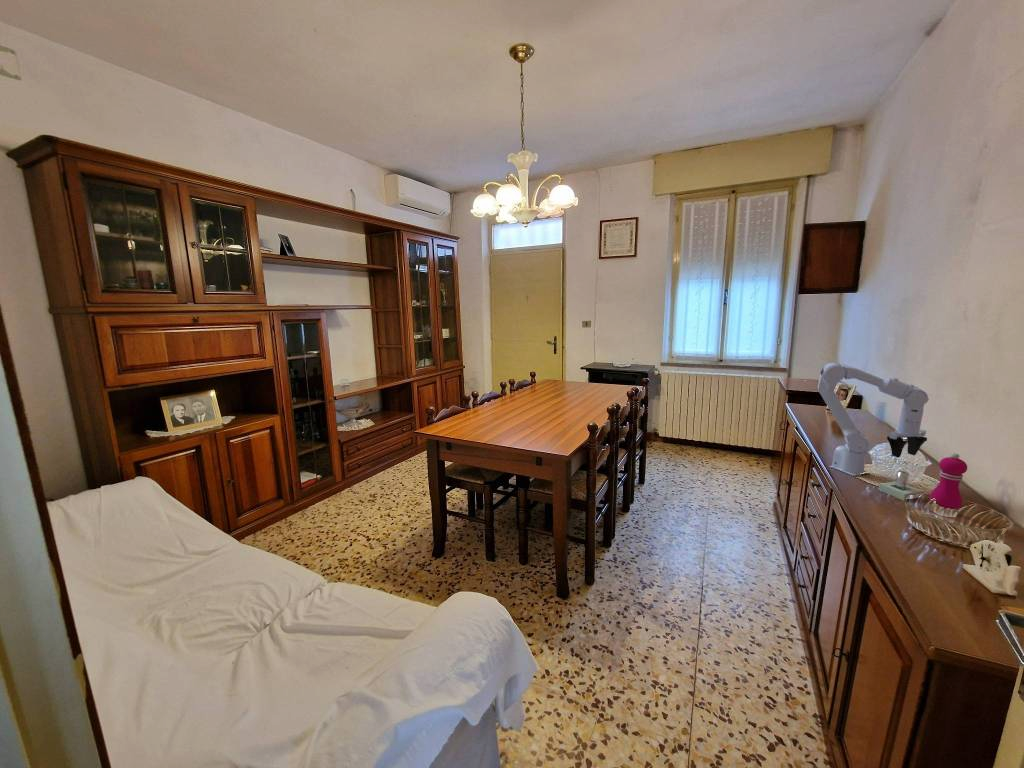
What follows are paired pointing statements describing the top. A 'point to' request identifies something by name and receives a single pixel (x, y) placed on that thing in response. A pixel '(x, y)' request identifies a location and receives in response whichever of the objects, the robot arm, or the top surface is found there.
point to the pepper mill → (949, 482)
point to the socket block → (898, 490)
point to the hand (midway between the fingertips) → (903, 455)
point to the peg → (902, 480)
